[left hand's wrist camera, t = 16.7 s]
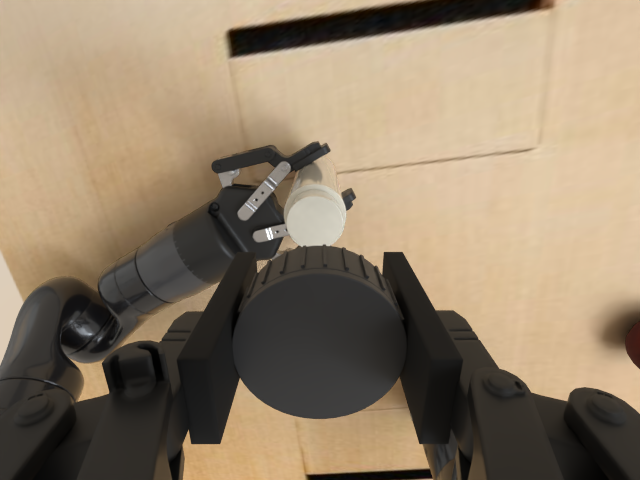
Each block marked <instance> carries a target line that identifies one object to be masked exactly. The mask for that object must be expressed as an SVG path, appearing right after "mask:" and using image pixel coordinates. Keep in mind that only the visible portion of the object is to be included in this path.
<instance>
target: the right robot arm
mask: <svg viewBox="0 0 640 480" xmlns="http://www.w3.org/2000/svg"><path fill="white" fill-rule="evenodd" d="M329 152H330V148H329V146H328V144H327V143H325V144H323V145H320V143H319V141H317V142H312V143H311V144H309V145H307V146H306V147H304V148H302V149H301V150H299V151H297V152H296V153H294V154H292V155H290V156H285V155H283V154H282V153H281V152H279V151H278V150H277V148H276V147H275V146H274V145H268V146H264V147H260V148H256V149H252V150H248V151H244V152H240V153H236V154H232V155H228V156H224V157H221V158H219V159H217V160H215V161H214V162H213V163H212V170H213V171H214V172H215V173H218V176H219V179H220V182H221V184H222V187H223V188H222V189H221V191H220V192H219V194H218V196H217V197H216V198H215V199H213V200H212V201H210V202H208V203H207V204H205V205H203V206H202V207H200V208H198V209H197V210H195V211H193V212H192V213H190V214H188V215H187V216H185V217H183V218H182V219H180V220H178V221H176V222H173V223H171V224H170V225H168V227H167V228H165V229H163V230H162V231H160V232H159V233H157V234H156V235H154V236H153V237H152V238H151V239H150V240H149V241H147V242H146V243H145V244H143V245H142V246H140V247H139V248H137V249H135V250H134V251H132V252H130V253H129V254H127V255H125V256H124V257H122V258H120V259H118V260H117V261H115V262H113V263H112V264H110V265H109V266H108V267H107V268H105V270H104V271H103V272H102V273H101V275H100V277H99V280H98V291H99V292H98V291H96V290H95V289H93V288H92V287H91V286H89V285H88V284H86V283H85V282H84V281H82V280H80V279H78V278H76V277H72V276H61V277H56V278H53V279H50V280H48V281H46V282H44V283H42V284H41V285H40V286H38V287H37V288H36V289H35V290H34V291H33V292H32V293H31V294H30V295H29V296H28V298H27V299H26V300H25V302H24V304H23V305H22V307H21V309H20V311H19V314H18V316H17V319H16V322H15V325H14V328H13V331H12V335H11V338H10V341H9V344H8V347H7V350H6V353H5V355H4V358H3V360H2V363H1V365H0V416H1V415H2V414H3V413H4V412H5V411H6V410H7V409H9V408H10V407H11V406H12V405H14V404H15V403H16V402H18V401H20V400H22V399H24V398H26V397H27V396H29V395H32V394H35V393H38V392H41V391H44V390H51V389H60V390H65V391H66V392H68V393H69V394H70V396H71V399H72V402H73V403H75V402H78V400H79V397H80V395H81V393H82V390H83V386H84V377H83V375H82V373H81V371H80V370H79V368H78V367H77V366H76V365H75V364H74V363H73V362H72V361H71V360H70V359H72V360H74V361H76V362H79V363H85V364H89V363H96V362H100V361H103V360H105V358H106V357H107V356H108V355H109V354H111V353H112V352H113V351H115V350H116V349H118V348H120V347H121V345H122V344H123V343H124V342H125V341H126V340H127V339H128V338H129V337H130V336H131V335H132V334H133V333H134V332H135V331H136V330H137V329H138V328H139V327H140V326H141V325H142V324H143V323H145V322H146V321H147V320H148V319H149V318H150V317H152V316H153V315H155V314H157V313H158V312H160V311H162V310H164V309H165V308H167V307H169V306H171V305H173V304H174V303H176V302H178V301H180V300H183V299H185V298H188V297H191V296H193V295H196V294H198V293H200V292H202V291H203V290H205V289H207V288H209V287H211V286H213V285H214V284H216V283H218V282H220V281H221V280H222V278H223V277H224V275H225V273H226V271H227V270H228V268H229V266H230V264H231V262H232V261H233V259H234V257H235V255H236V254H237V252H256V261H259V260H269V259H272V260H273V259H275V258H276V257H278V256H280V255H282V254H283V253H284V251H279V250H278V249H279V246H280V244H281V242H282V240H283V237H284V236H288V235H289V233H288V230H287V226H286V224H285V221H284V209H283V208H282V207H281V206H280V205H279V204H278V201H277V198H276V196H275V194H274V193H273V191H274V190H275V188H276V187H277V186H278V185H279V184H280V182H281V181H282V180H283V179H284V178H285V177H286V176H287V175H288V173H290V172H292V171H293V170H295V171H296V172H297V171H298V170H300V169H302V168H303V167H305V166H307V165H308V164H310V163H312V162H314V161H315V160H317V159H319V158H320V157H322V156H324V155H325V154H327V153H329ZM264 162H269V163H270V164H271V165H272V166H274V167H275V168H274V170H273V171H272V172H271V173H270V174H269V175H268V176H267V178H266V179H265V180H264V181H263V182H262V183H261V184H260V186H252V185H242V184H234V183H233V180H234V178H236V177H237V176H238V175H240V173H241V168H244V167H248V166H252V165H256V164H260V163H264ZM342 196H343V200H344V203H345V207H346V211H347V210H349V209H350V208H351V207H352V205H353V203H352V201H353V200H354V199H355V198H356V196H355V194H354V192H353V190H352V188H350V189H347V190H345V191H344V192H342ZM297 248H301V246H298V247H297ZM297 248H296V249H297ZM291 250H293V249H292V248H288V249H286V250H285V251H287V252H288V251H291ZM68 357H69V358H70V359H69V358H68ZM410 415H411V413H410ZM411 419H412V417H411ZM457 446H458V443H457V441H456V438H455V436H454V433H453V431H452V428H451V432H450V438H449V443H448V444H423V447H424V450H425V454H426V457H427V460H428V464H429V467H430V470H431V473H432V477H433V480H451V479H452V472H453V467H454V462H455V456H456V451H457ZM456 480H457V478H456Z"/></svg>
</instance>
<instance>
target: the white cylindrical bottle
mask: <svg viewBox="0 0 640 480" xmlns="http://www.w3.org/2000/svg"><path fill="white" fill-rule="evenodd" d="M284 221H285V224H286V226H287V230H288V233H289V235H290V237H291V238H292V240H293V241H294V242H295V243H296V244H298V245H299V246H301V247H303V246H304V245H306V247H307V246H323V244H326V246H330V245H332V244H333V243H335V242H336V241H337V240H338V239H339V238H340V236H341V234H342V232H343V229H344V225H345V221H346V207H345V203H344V200H343V196H342V192H341V188H340V185H339V181H338V177H337V173H336V170H335V166H334V164H333V162H332V161H331V160H330V159H329V158H328V157H326V156H322V157H320V158H319V159H317V160H315V161H314V162H312V163H310V164H308V165H307V166H305V167H303V168H302V169H300V170H298V171H297V172H296V175H295V178H294V181H293V184H292V186H291V189H290V192H289V195H288V198H287V201H286V204H285V207H284Z"/></svg>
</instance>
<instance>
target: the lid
mask: <svg viewBox="0 0 640 480" xmlns="http://www.w3.org/2000/svg"><path fill="white" fill-rule="evenodd" d="M237 314H239V317H238V319H237V322H236V325H235V327H234V331H233V335H232V348H233V358H234V365H235V368H236V370H237V372H238V375H239V376H240V378H241V380H242V381H243V383H244V384H245V385H246V387H247V388H248V389H249V390H250V391H251V392H252V393H253V394H254V395H255V396H256V397H257V398H258V399H260V400H261V401H262V402H264V403H265V404H267V405H269V406H270V407H272V408H274V409H276V410H279V411H281V412H283V413H286V414H290V415H293V416H297V417H303V418H311V419H327V418H336V417H341V416H346V415H349V414H352V413H355V412H358V411H360V410H362V409H365V408H366V407H368V406H370V405H372V404H373V403H375V402H376V401H378V400H379V399H380V398H382V397H383V396H384V395H385V394H386V393H387V392H388V391H389V390H390V389H391V388H392V386H393V385H394V384H395V383H396V381H397V379H398V378H399V376H400V374H401V372H402V370H403V367H404V364H405V360H406V353H407V335H406V331H405V327H404V324H403V322H405V320H404V317H403V315H402V312H401V310H400V307H399V305H398V302H397V300H396V297H395V295H394V293H393V291H392V288H391V286H390V283H389V281H388V279H386V280H385V279H384V277H383V276H382V274H381V273H380V271H379V269H378V267H377V266H375V267H374V266H373V265H372V264H371V263H370V262H369V261H367V260H366V259H364V257H363V255H360V256H359V255H357V254H355V253H353V252H351V251H348V250H346V248H344V247H343V248H338V247H332V246H326V244H323V246H307V247H306V245H304V246H303V247H301V248H297V249H293V250H291V251H288V252H287V251H284V253H283V254H282V255H280V256H278V257H276V258H275V259H273V260H272V261H271V260H269V261H268V262H267V265H266V266H265V267H264V268H262V269H261V270H260V272H259V273H257V272H256V273H255V275H254V278H253V281H252V283H251V285H250V287H247V289H246V291H245V294H244V296H243V299H242V301H241V304H240V306H239V309H238V311H237Z"/></svg>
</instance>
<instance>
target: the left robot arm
mask: <svg viewBox="0 0 640 480" xmlns="http://www.w3.org/2000/svg"><path fill="white" fill-rule="evenodd" d="M256 272H257V262H256V252H237V254H236V255H235V257H234V259H233V261H232V262H231V264H230V266H229V268H228V270H227V271H226V273H225V275H224V277H223V278H222V280H221V282H220V284H219V285H218V287H217V289H216V291H215V292H214V294H213V296H212V298H211V300H210V301H209V303H208V305H207V307H206V308H205V310H204V312H185V313H184V314H183V315H181V316H180V317H178V318H177V319H176V320H174V322H173V323H172V325H171V326H170V328H169V329H168V332H167V333H166V334H165V335H164V337H163V338H162V341H160V342H159V343H158V342H154V341H138V342H134V343H130V344H127V345H125V346H122V347H120V348H118V349H116V350H115V351H113V352H112V353H111V354H109V355H108V356H107V357H106V358H105V360H104V361H103V362H102V366H103V370H104V373H105V377H106V381H107V384H108V388H109V394H107V395H104V396H100V397H96V398H92V399H88V400H83V401H79V402H75V403H73V402H72V399H71V396H70V394H69V393H68V392H66V391H65V390H60V389H51V390H44V391H41V392H38V393H35V394H32V395H29V396H27V397H26V398H24V399H22V400H20V401H18V402H16V403H15V404H14V405H12V406H11V407H10V408H9V409H7V410H6V411H5V412H4V413H3V414H2V415H1V416H0V480H183V470H184V460H185V458H184V451H183V446H182V444H183V442H184V439H185V437H186V434H187V432H188V429H189V433H190V439H191V444H220V443H221V440H222V436H223V433H224V429H225V426H226V423H227V419H228V416H229V412H230V409H231V406H232V402H233V399H234V395H235V392H236V389H237V385H238V382H239V379H240V376H239V375H238V372H237V370H236V368H235V365H234V358H233V348H232V335H233V331H234V327H235V325H236V322H237V319H238V317H239V314H237V311H238V309H239V306H240V304H241V301H242V299H243V296H244V294H245V291H246V289H247V287H250V285H251V283H252V281H253V278H254V275H255V273H256ZM382 276H383V277H384V279H385V280H386V279H388V281H389V283H390V286H391V288H392V291H393V293H394V295H395V297H396V300H397V302H398V305H399V307H400V310H401V312H402V315H403V317H404V320H405V322H403V324H404V327H405V331H406V335H407V353H406V360H405V364H404V367H403V370H402V372H401V374H400V379H401V383H402V386H403V389H404V393H405V396H406V400H407V403H408V406H409V410H410V413H411V417H412V420H413V423H414V427H415V430H416V434H417V437H418V440H419V444H448V443H449V438H450V432H451V428H452V431H453V433H454V436H455V438H456V441H457V443H458V446H457V451H456V456H455V462H454V467H453V472H452V479H451V480H456V478H457V480H640V414H639V413H638V412H637V411H636V410H635V409H634V408H632V407H631V406H630V405H629V404H627V403H626V402H625V401H623V400H621V399H619V398H618V397H616V396H614V395H612V394H610V393H607V392H604V391H601V390H598V389H593V388H586V387H584V388H577V389H574V390H573V391H572V392H571V393H570V395H569V398H568V401H563V400H558V399H554V398H550V397H545V396H541V395H538V394H534V393H531V392H530V390H529V388H528V387H527V385H526V384H525V383H524V382H523V381H522V380H521V379H519V378H518V377H517V376H515V375H513V374H511V373H509V372H507V371H505V370H502V369H499V368H498V366H497V365H496V363H495V362H494V360H493V359H492V357H491V356H490V354H489V353H488V352H487V350H486V349H485V347H484V346H483V344H482V343H481V341H480V340H478V337H477V335H476V334H475V332H474V331H472V328H471V327H470V325H469V324H468V322H467V321H466V319H464V318H463V317H462V316H460V315H459V314H457V313H456V312H455V311H435V309H434V307H433V305H432V304H431V302H430V300H429V298H428V296H427V295H426V293H425V291H424V289H423V288H422V286H421V284H420V282H419V281H418V279H417V277H416V275H415V273H414V272H413V270H412V268H411V266H410V265H409V263H408V261H407V259H406V258H405V256H404V254H403V252H384V259H383V273H382Z"/></svg>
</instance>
